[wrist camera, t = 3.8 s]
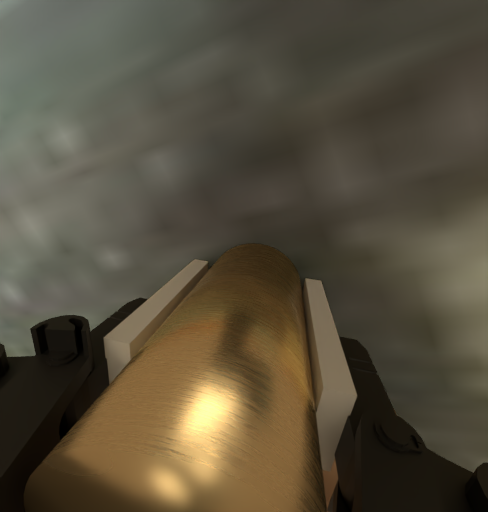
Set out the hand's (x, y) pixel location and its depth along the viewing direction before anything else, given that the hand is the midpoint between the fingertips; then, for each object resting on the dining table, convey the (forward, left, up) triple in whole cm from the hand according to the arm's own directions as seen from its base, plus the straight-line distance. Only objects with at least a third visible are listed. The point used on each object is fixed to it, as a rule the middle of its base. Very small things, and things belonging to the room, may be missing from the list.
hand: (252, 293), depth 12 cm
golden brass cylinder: (0, 0, -1) cm, 1 cm away
